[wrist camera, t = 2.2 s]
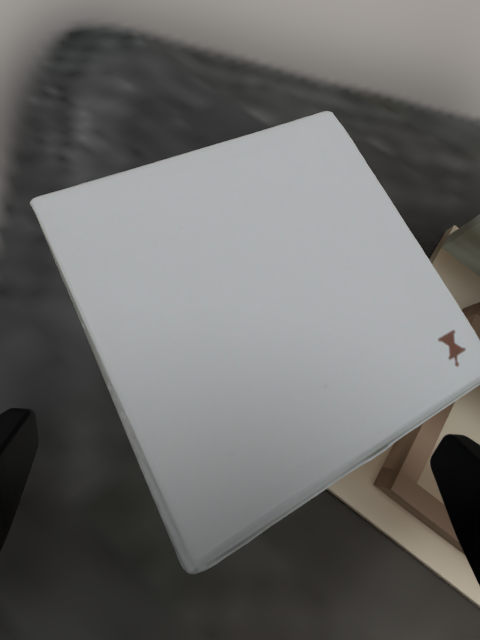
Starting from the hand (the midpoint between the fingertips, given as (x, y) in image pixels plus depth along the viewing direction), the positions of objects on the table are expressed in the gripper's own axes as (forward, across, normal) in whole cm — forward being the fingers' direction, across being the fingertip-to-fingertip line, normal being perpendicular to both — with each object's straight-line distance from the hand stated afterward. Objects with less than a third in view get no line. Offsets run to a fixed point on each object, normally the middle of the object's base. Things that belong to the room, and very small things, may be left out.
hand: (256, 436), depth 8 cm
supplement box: (+10, 0, +6) cm, 11 cm away
